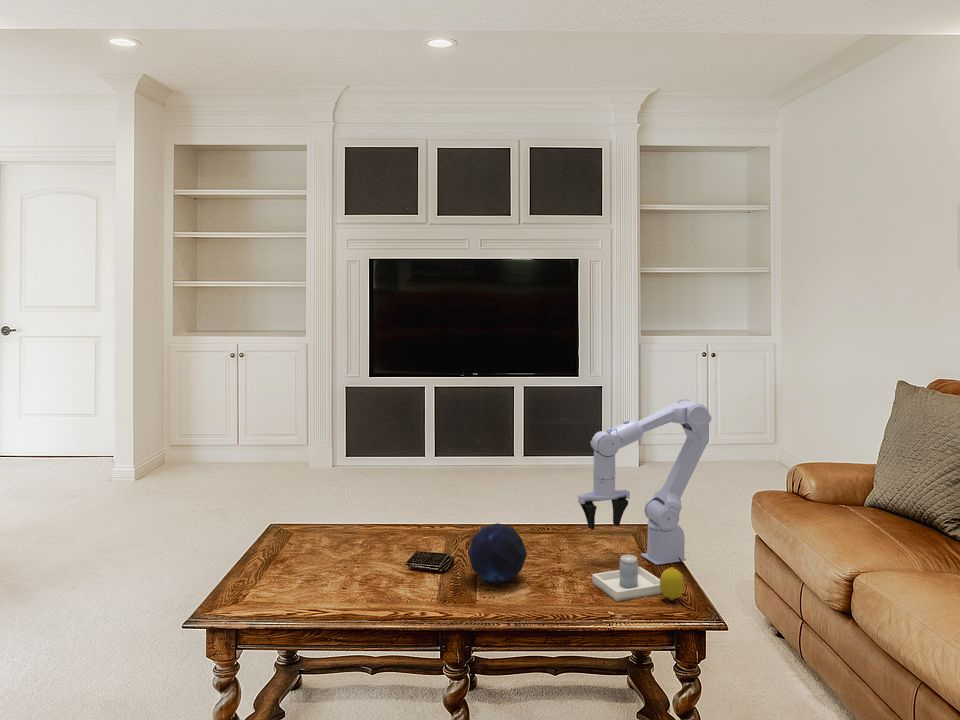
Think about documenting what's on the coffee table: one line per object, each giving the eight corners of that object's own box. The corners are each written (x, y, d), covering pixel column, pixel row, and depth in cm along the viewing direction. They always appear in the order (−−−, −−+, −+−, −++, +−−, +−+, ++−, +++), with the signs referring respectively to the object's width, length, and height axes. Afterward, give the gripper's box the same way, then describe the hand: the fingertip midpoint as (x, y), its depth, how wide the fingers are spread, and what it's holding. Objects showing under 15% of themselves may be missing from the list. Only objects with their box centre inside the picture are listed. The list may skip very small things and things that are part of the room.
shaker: (630, 580, 186) (631, 553, 186) (641, 586, 182) (641, 559, 182) (616, 583, 185) (616, 555, 184) (626, 589, 181) (626, 561, 180)
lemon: (679, 607, 172) (680, 573, 171) (656, 601, 175) (656, 568, 174) (686, 598, 177) (687, 565, 176) (663, 593, 180) (664, 561, 179)
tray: (640, 575, 191) (640, 566, 191) (667, 592, 180) (667, 583, 180) (591, 582, 187) (591, 574, 186) (616, 601, 175) (616, 592, 175)
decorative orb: (473, 576, 177) (507, 522, 180) (448, 556, 190) (480, 506, 193) (515, 603, 183) (547, 550, 185) (488, 581, 196) (518, 532, 199)
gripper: (620, 471, 204) (619, 519, 205) (573, 476, 199) (572, 525, 200) (634, 477, 197) (633, 527, 199) (585, 482, 192) (585, 533, 194)
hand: (603, 526), depth 199 cm, fingers open, 7 cm apart
